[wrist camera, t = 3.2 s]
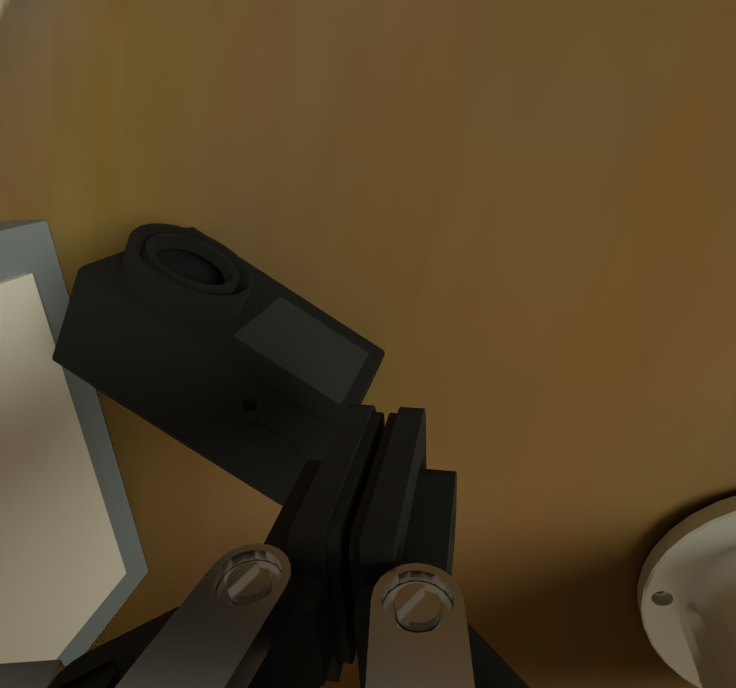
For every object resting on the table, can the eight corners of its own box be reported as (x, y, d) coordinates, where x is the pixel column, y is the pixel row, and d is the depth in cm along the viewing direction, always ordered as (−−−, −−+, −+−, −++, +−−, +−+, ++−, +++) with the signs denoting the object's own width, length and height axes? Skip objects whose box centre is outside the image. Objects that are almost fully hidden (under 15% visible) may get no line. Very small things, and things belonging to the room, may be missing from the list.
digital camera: (403, 332, 23) (366, 414, 16) (344, 417, 25) (292, 517, 19) (200, 201, 22) (85, 234, 16) (161, 299, 25) (48, 361, 19)
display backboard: (53, 220, 24) (-296, 302, 14) (154, 572, 33) (-13, 791, 22) (11, 220, 25) (-355, 300, 14) (121, 566, 34) (-57, 778, 23)
